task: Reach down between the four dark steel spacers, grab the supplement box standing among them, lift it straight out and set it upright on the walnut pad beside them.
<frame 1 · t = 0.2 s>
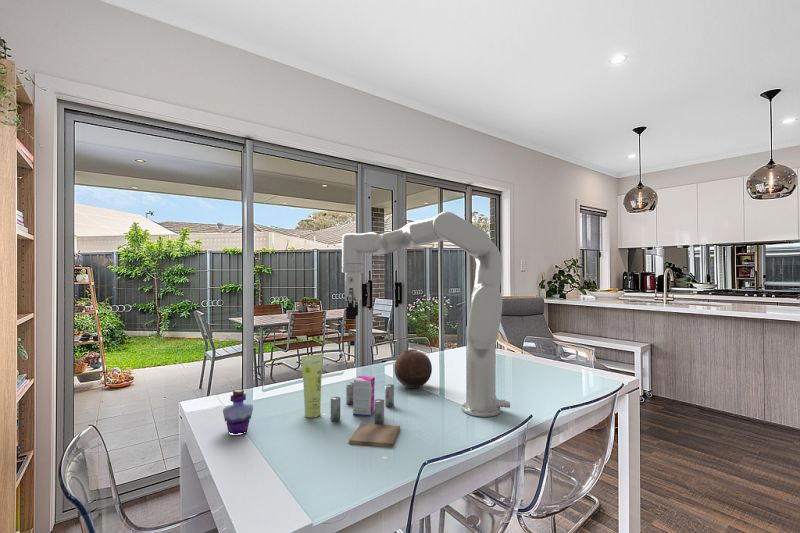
hand: (352, 317, 139), 30 cm above the table, tool pointing down, fingers open, 9 cm apart
supplement box: (363, 413, 130), on the table
wooden sphere: (413, 387, 158), on the table
walnut pad: (375, 436, 112), on the table
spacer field: (363, 412, 130), on the table
tube: (311, 416, 128), on the table
potion bottle: (238, 432, 115), on the table
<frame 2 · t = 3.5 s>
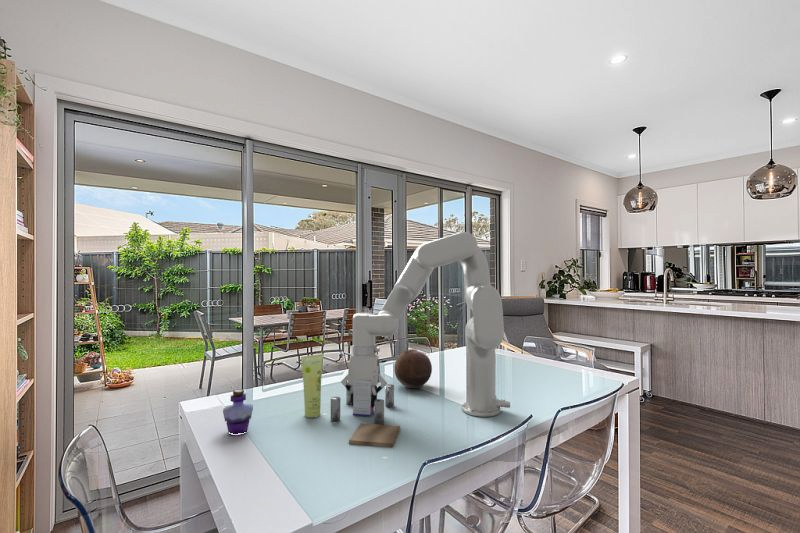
hand: (363, 405, 130), 3 cm above the table, tool pointing down, fingers closed on supplement box, 5 cm apart
supplement box: (363, 413, 130), on the table, touching gripper
everything else where it was.
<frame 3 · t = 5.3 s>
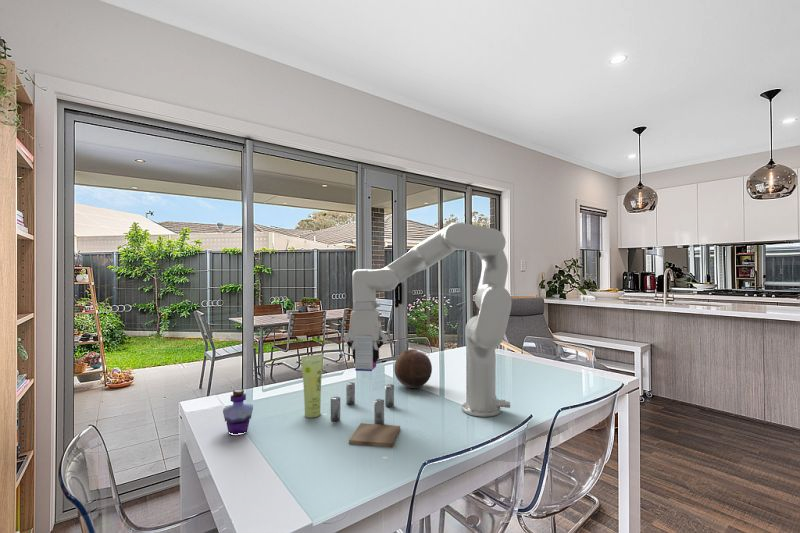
hand: (365, 360, 130), 17 cm above the table, tool pointing down, fingers closed on supplement box, 5 cm apart
supplement box: (366, 369, 130), point 14 cm above the table, touching gripper
everything else where it was.
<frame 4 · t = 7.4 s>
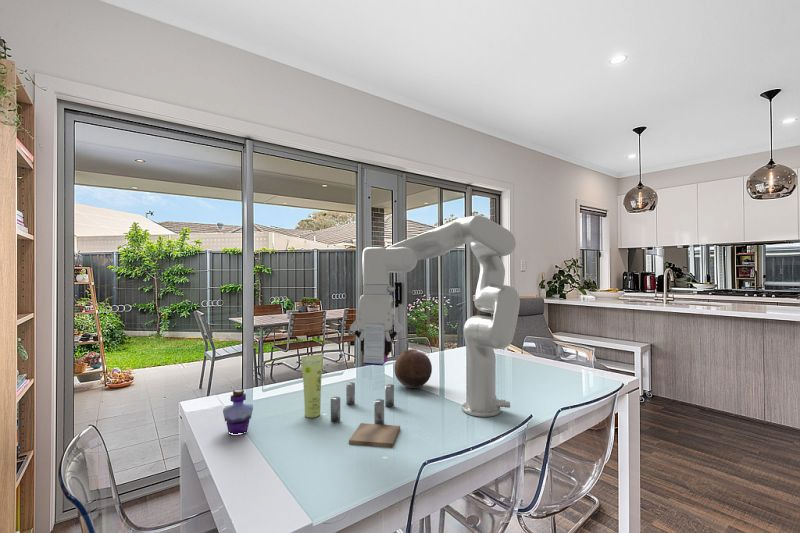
hand: (376, 353, 112), 23 cm above the table, tool pointing down, fingers closed on supplement box, 5 cm apart
supplement box: (376, 363, 112), point 20 cm above the table, touching gripper
everything else where it was.
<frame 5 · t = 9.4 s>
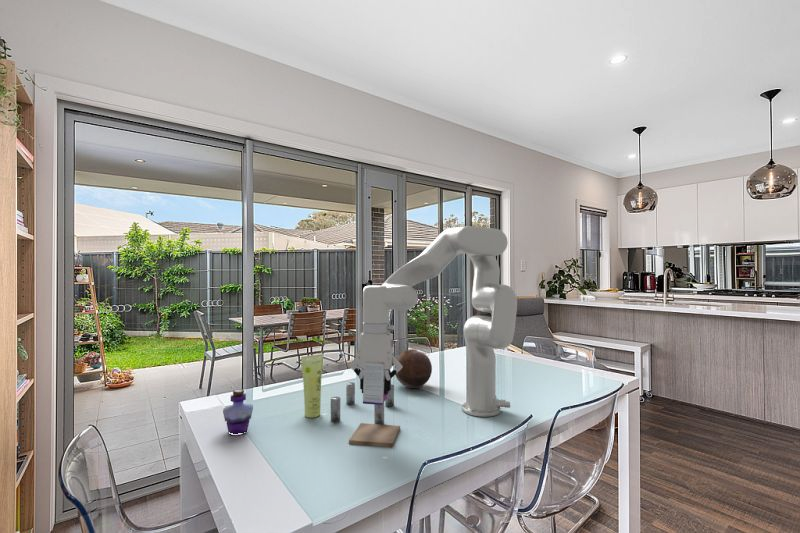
hand: (375, 392, 112), 13 cm above the table, tool pointing down, fingers closed on supplement box, 5 cm apart
supplement box: (375, 401, 112), point 10 cm above the table, touching gripper
everything else where it was.
when the fingers open (4 cm above the table, at t = 11.4 s): supplement box stays where it is, resting on walnut pad.
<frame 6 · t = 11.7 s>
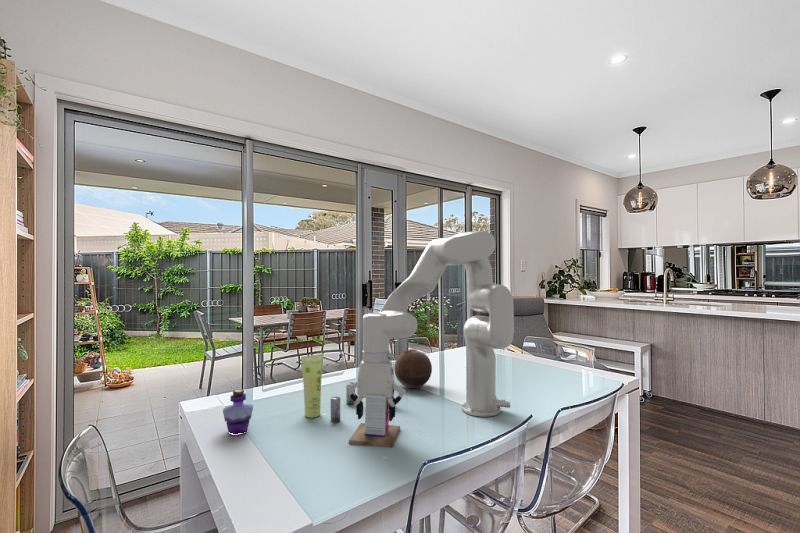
hand: (375, 418, 112), 5 cm above the table, tool pointing down, fingers open, 8 cm apart
supplement box: (377, 433, 112), point 1 cm above the table, touching walnut pad
everything else where it was.
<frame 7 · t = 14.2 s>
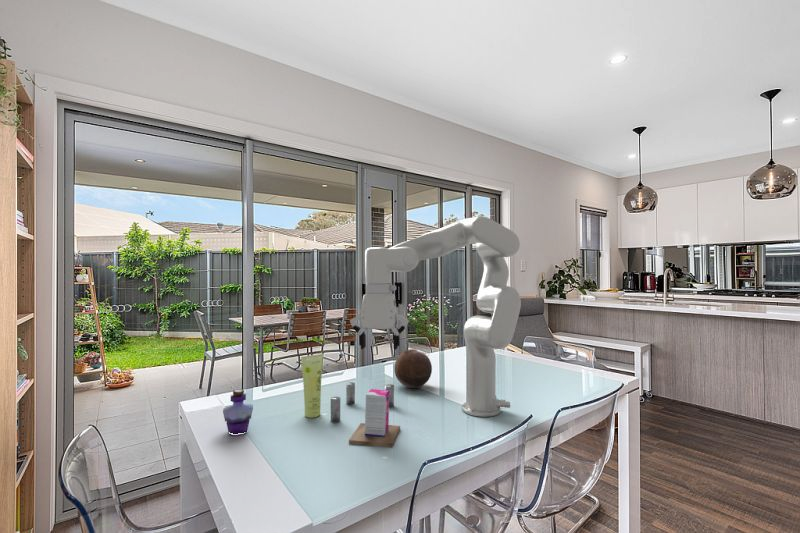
hand: (379, 348, 115), 24 cm above the table, tool pointing down, fingers open, 9 cm apart
nothing on the table moved.
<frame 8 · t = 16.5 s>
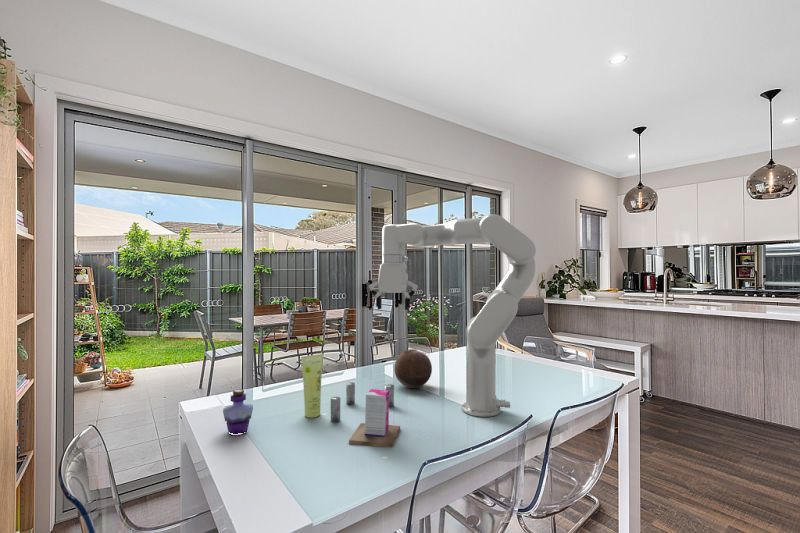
hand: (393, 309, 138), 33 cm above the table, tool pointing down, fingers open, 9 cm apart
nothing on the table moved.
at the end: supplement box inside the target area on the walnut pad (0.4 cm from its centre), point 0.8 cm above the walnut pad's base; supplement box tilted 0°; the gripper is holding nothing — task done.
